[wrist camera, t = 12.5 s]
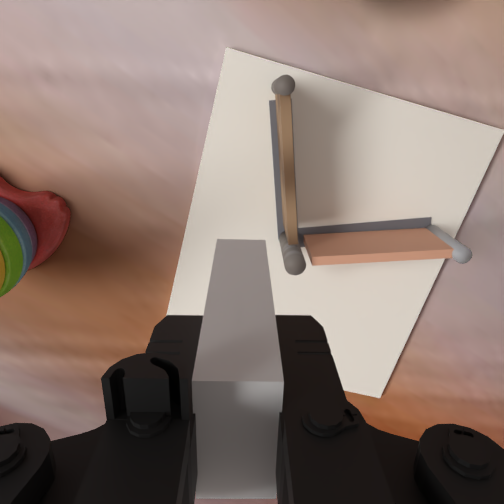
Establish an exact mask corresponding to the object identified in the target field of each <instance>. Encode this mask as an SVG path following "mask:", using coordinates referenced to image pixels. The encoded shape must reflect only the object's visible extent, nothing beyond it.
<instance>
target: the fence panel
mask: <svg viewBox="0 0 504 504" xmlns="http://www.w3.org/2000/svg"><path fill="white" fill-rule="evenodd" d="M303 236H304V245H305V248H306V250H307V253H308V256H309V258H310V261H311V264H312V266H316V265H334V264H352V263H370V262H388V261H407V260H425V259H443V258H453V259H454V260H456V261H457V262H458V263H461V264H463V263H467V262H468V261H469V260H470V259H471V258H472V251H471V250H470V249H469V248H467V247H466V246H464V245H463V244H462V243H460V242H459V241H457V240H456V239H454V238H453V237H451V236H450V235H449V234H447V233H446V232H444V231H443V230H441V229H440V228H439V227H437V226H436V225H428V226H427V227H426V228H414V229H396V230H378V231H361V232H343V233H325V234H307V235H303Z"/></svg>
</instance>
